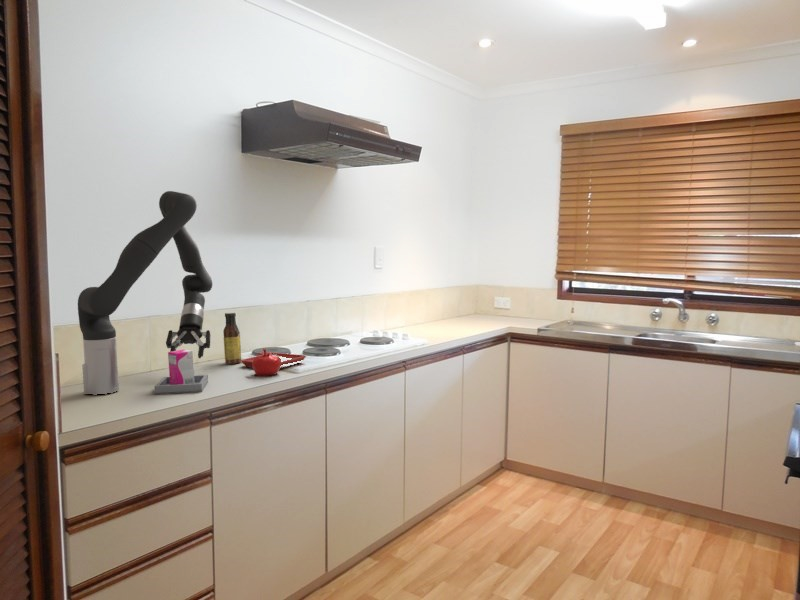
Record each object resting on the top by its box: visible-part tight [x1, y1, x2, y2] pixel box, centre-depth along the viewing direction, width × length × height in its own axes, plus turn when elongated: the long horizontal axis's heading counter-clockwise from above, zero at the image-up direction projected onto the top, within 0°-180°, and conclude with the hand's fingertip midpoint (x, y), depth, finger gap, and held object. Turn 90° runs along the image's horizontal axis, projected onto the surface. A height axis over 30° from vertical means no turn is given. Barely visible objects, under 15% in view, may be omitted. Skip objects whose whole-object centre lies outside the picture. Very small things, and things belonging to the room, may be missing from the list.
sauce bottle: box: [223, 311, 242, 365], centre depth 232 cm, size 7×6×20 cm
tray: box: [153, 374, 209, 395], centre depth 191 cm, size 14×14×2 cm
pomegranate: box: [251, 348, 281, 377], centre depth 210 cm, size 10×10×9 cm
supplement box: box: [167, 349, 195, 385], centre depth 191 cm, size 6×6×12 cm
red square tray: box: [240, 352, 307, 368], centre depth 228 cm, size 18×18×3 cm
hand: (186, 357), depth 201 cm, fingers open, 8 cm apart
